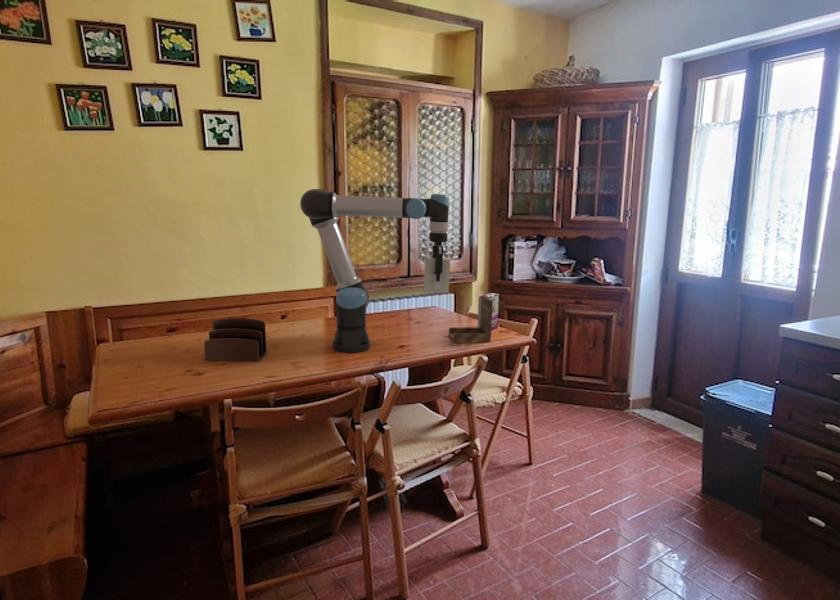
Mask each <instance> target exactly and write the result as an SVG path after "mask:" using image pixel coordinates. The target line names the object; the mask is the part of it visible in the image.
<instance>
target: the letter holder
mask: <svg viewBox="0 0 840 600" xmlns="http://www.w3.org/2000/svg"><path fill="white" fill-rule="evenodd" d="M212 321H213V322H212V330H209V331H208V339H205V340H204V343H203V345H204V361H211V362H212V361H213V362H214V361H215V362H220V361H221V362H260V361H261V360H262V359H263V358H264V357H265V356H266V355H267V353H268V352H267V336H266V334H267V333H266V323H265V321H263V320H261V319H255V318H253V319H252V318H241V317H240V318H238V317H236V318H231V317H230V318H218V319H214V320H212Z"/></svg>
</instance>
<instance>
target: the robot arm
mask: <svg viewBox="0 0 840 600" xmlns="http://www.w3.org/2000/svg"><path fill="white" fill-rule="evenodd" d="M449 200H450V198H449V195H447V194H442V193H441V194H438V193H433V194H431V195H430V197H429V198H418V197H417V198H415V197H414V198H413V197H385V196H363V195H361V196H359V195H339V194H336V192H331V191H330V192H329V191H328V190H326V189H323V188H313V189H308V190H307V191H305V192H304V194H302V196H301V198H300V204H299V205H300V209H301V212H302V213H303V215H305V216H306V217H307V218H308V219H309V221H310V224H311V227H312V228H314V229H316V230H317V232H318V235H319V238H320V241H321V243H322V246H323V248H324V251H325V254H326V256H327V259H328V261H329V264H330V267H331V270H332V273H333V275H334V279H335V281H336V286H335V292H336V297H335V302H336V331H335V333H334V336H333V339H332V349H333V350H334V351H337V352H339V353H348V354H349V353H351V354H352V353H360V352H365V351H367V350H369V349H371V340H370V337H369V334H368V331H367V330H368V329H367V323H366V322H367V308H368V306H369V303H370V295H369V292H368V290H367V289H366V288H365V286H364V282H363V280H362V278H360V277H358V276H357V274H356V271H355V268H354V266H353V263H352V259H351V257H350V255H349V251H348V249H347V246H346V243H345V241H344V237H343V235H342V233H341V229H340V225H339V224H338V221H339V219H340V216H345V217H346V216H348V217H374V218H375V217H376V218H395V219H397V218H398V219H399V218H403V219H413V220H419V219H422V218H429V234H428V235H429V236H428V241H429V242H431V243H433V245H432V255H431V258H435V272H433V273H434V289H440V287H441V273H442V264H443V258H444V251H445V250H444V246H443V243H447V242H448V233H447V232H448V231H449V230H448V227H450V224H449V211H450V209H449V208H450V201H449Z"/></svg>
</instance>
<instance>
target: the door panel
mask: <svg viewBox="0 0 840 600" xmlns="http://www.w3.org/2000/svg"><path fill="white" fill-rule="evenodd" d="M450 268H451V259H450V258H444V257H443V264H442V273H441V287H440V289H434V273H433V272H435V258H432V257H424V274H423V276H424V279H423V280H424V281H423V291H424V293H449V292H450V291H449V289H450V272H451V271H450Z"/></svg>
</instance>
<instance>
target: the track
mask: <svg viewBox="0 0 840 600" xmlns="http://www.w3.org/2000/svg"><path fill="white" fill-rule="evenodd" d="M481 296H482V295H481ZM492 305H493V301H492V300H491V299H490V298H489V297H487V296H482V299H481V320H480V327H478V326H475V327H473V326H471V327H469V326H467V327H466V326H464V327H463V326H462V327H459V326H458V327H457V326H456V327H455V326H454V327H449V329H448V330H449V331H448V332H449V333H448V336H449V337H450V339H451V340H452V342H453V343H473V342H472V341H491V340H492V330H491V324H492ZM491 342H492V341H491Z"/></svg>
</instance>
